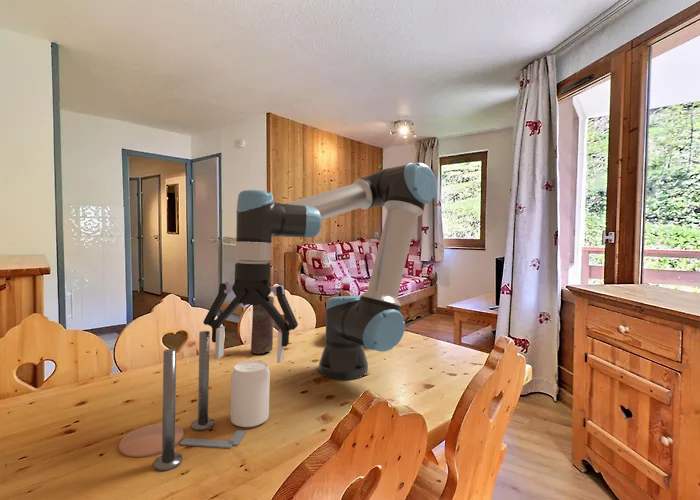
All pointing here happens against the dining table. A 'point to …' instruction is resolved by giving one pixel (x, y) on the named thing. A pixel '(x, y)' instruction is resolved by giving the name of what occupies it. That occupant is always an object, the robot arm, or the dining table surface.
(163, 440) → the gate posts
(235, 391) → the beverage can
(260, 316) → the candle
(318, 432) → the dining table surface
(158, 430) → the pad
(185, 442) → the strip
